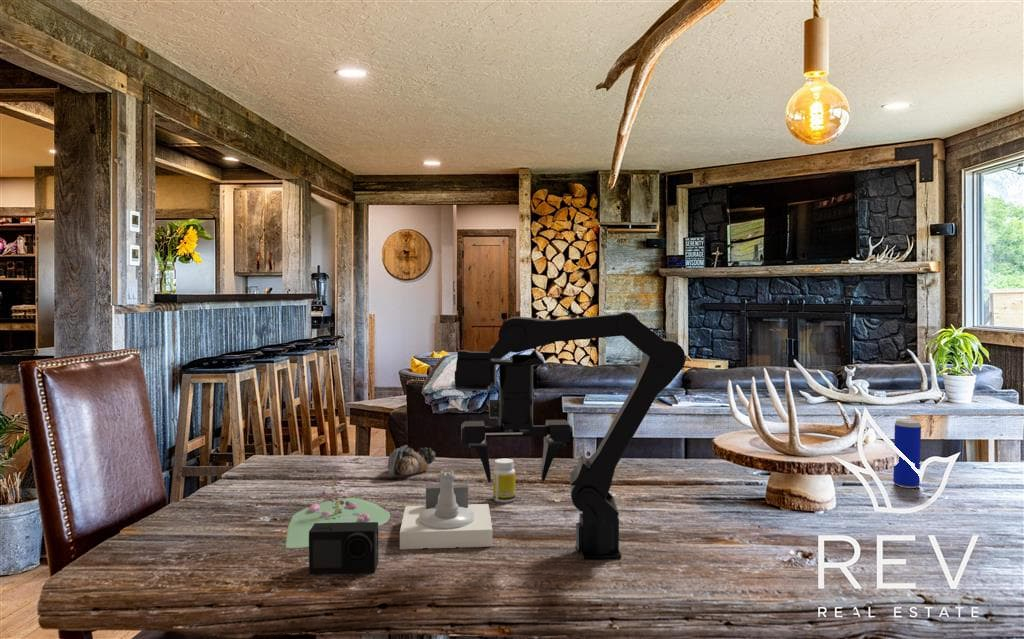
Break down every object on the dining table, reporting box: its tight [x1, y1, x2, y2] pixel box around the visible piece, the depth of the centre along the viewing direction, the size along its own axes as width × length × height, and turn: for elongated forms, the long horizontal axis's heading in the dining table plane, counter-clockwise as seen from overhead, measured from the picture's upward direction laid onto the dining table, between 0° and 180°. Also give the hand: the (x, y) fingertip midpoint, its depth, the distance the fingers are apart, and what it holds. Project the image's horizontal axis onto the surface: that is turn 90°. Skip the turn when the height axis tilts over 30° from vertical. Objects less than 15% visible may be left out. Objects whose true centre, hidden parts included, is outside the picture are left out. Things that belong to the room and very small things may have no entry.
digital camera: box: [308, 522, 379, 575], centre depth 108 cm, size 10×5×7 cm, turn 93°
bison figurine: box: [387, 444, 436, 476], centre depth 164 cm, size 12×7×10 cm
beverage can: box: [892, 418, 922, 489], centre depth 154 cm, size 5×5×15 cm
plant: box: [285, 474, 391, 549], centre depth 130 cm, size 25×21×9 cm
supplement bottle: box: [492, 458, 516, 503], centre depth 144 cm, size 5×5×8 cm
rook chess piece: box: [435, 469, 459, 518], centre depth 123 cm, size 4×4×8 cm
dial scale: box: [399, 483, 493, 550], centre depth 124 cm, size 16×14×7 cm
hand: (516, 481), depth 116 cm, fingers open, 9 cm apart
